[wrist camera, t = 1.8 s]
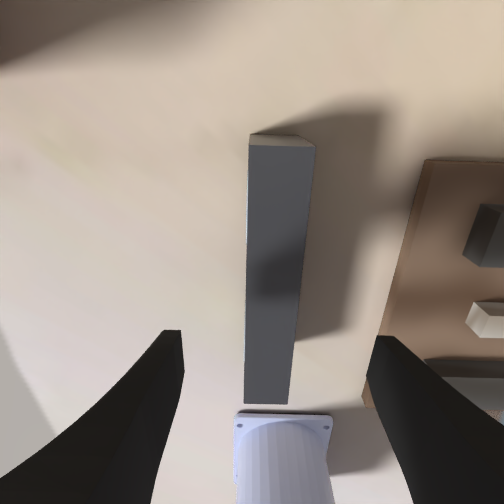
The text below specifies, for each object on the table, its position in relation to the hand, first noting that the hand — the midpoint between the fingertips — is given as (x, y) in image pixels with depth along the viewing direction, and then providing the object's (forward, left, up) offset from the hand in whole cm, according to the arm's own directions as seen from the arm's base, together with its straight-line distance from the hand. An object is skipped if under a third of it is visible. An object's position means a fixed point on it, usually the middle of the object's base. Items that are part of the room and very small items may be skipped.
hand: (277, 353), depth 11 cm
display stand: (-3, -14, -8) cm, 16 cm away
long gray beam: (0, 0, -8) cm, 8 cm away
